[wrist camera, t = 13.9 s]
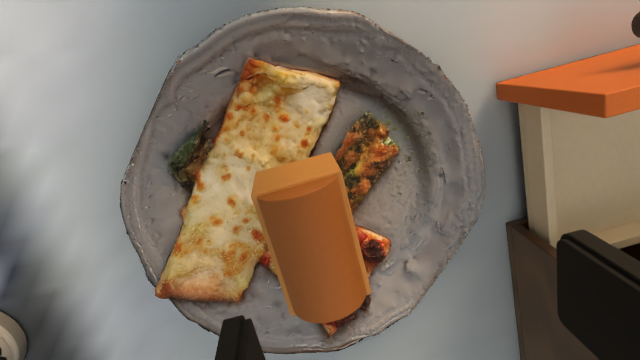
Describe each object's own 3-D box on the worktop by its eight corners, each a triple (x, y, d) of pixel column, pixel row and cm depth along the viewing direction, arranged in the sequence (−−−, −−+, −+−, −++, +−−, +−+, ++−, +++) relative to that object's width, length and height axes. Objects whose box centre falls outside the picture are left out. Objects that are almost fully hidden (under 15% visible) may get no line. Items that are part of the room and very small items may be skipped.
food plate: (352, 373, 34) (360, 407, 31) (88, 269, 29) (62, 297, 25) (523, 126, 29) (555, 134, 25) (237, -58, 23) (230, -78, 20)
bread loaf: (255, 171, 24) (247, 206, 19) (330, 151, 25) (346, 179, 19) (289, 277, 27) (291, 336, 21) (357, 258, 27) (379, 312, 21)
